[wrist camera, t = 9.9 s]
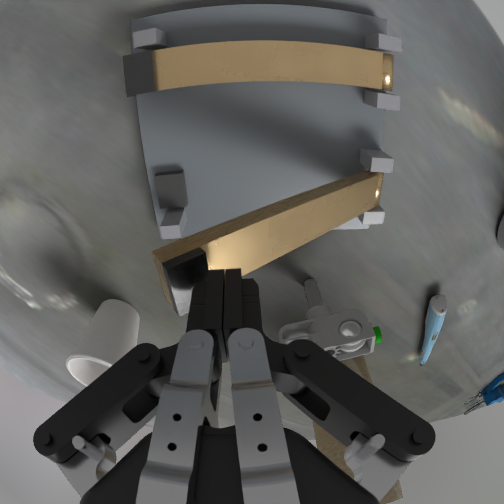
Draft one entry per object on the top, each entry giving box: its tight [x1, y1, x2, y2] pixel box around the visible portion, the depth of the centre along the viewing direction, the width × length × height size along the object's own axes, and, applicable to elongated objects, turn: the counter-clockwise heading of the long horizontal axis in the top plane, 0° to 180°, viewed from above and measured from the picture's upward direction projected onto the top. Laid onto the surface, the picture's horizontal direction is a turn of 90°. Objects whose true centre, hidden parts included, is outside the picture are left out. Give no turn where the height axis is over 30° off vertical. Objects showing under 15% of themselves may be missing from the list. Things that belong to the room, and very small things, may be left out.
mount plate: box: [130, 4, 402, 239], centre depth 20 cm, size 20×20×4 cm
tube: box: [313, 355, 403, 504], centre depth 33 cm, size 10×10×25 cm
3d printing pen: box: [420, 294, 447, 366], centre depth 39 cm, size 19×3×3 cm, turn 18°
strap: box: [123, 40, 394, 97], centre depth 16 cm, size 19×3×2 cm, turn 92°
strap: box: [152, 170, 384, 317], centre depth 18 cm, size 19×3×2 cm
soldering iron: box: [464, 374, 504, 414], centre depth 69 cm, size 35×31×18 cm
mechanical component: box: [278, 279, 382, 361], centre depth 29 cm, size 3×10×10 cm, turn 103°
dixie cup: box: [66, 299, 140, 386], centre depth 30 cm, size 8×8×10 cm
